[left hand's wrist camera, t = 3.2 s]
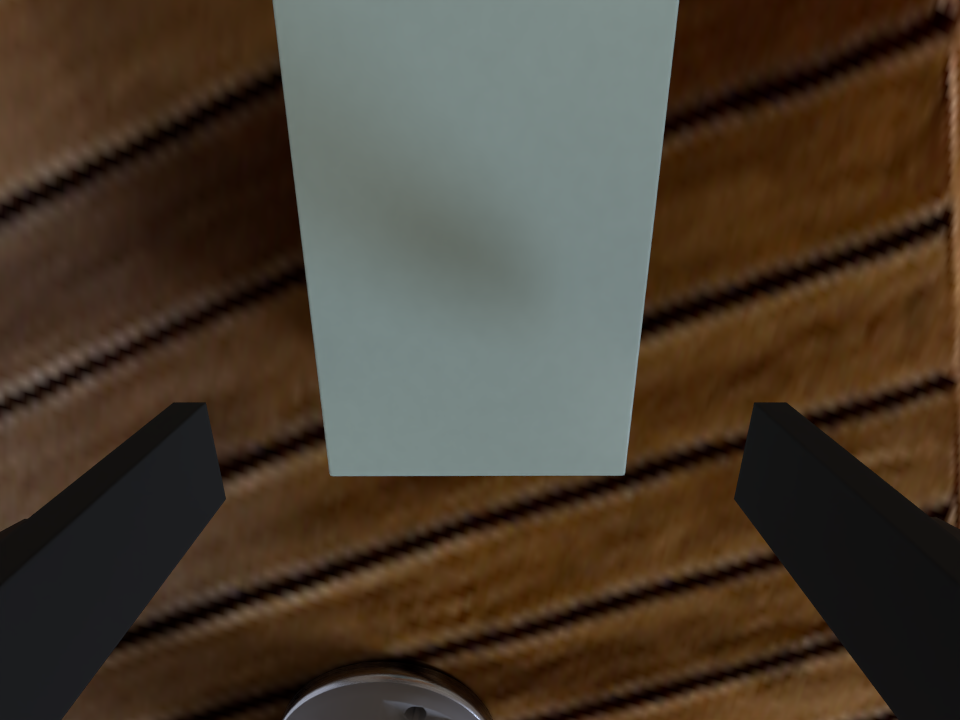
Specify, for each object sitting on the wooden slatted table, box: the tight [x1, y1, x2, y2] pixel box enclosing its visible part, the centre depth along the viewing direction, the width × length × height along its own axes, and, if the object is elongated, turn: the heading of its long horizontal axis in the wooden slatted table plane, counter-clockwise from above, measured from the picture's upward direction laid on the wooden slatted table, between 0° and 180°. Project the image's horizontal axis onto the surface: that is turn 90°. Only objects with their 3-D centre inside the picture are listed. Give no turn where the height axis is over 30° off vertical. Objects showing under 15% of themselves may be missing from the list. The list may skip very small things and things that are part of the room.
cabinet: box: [273, 0, 679, 476], centre depth 20 cm, size 19×10×10 cm, turn 0°
